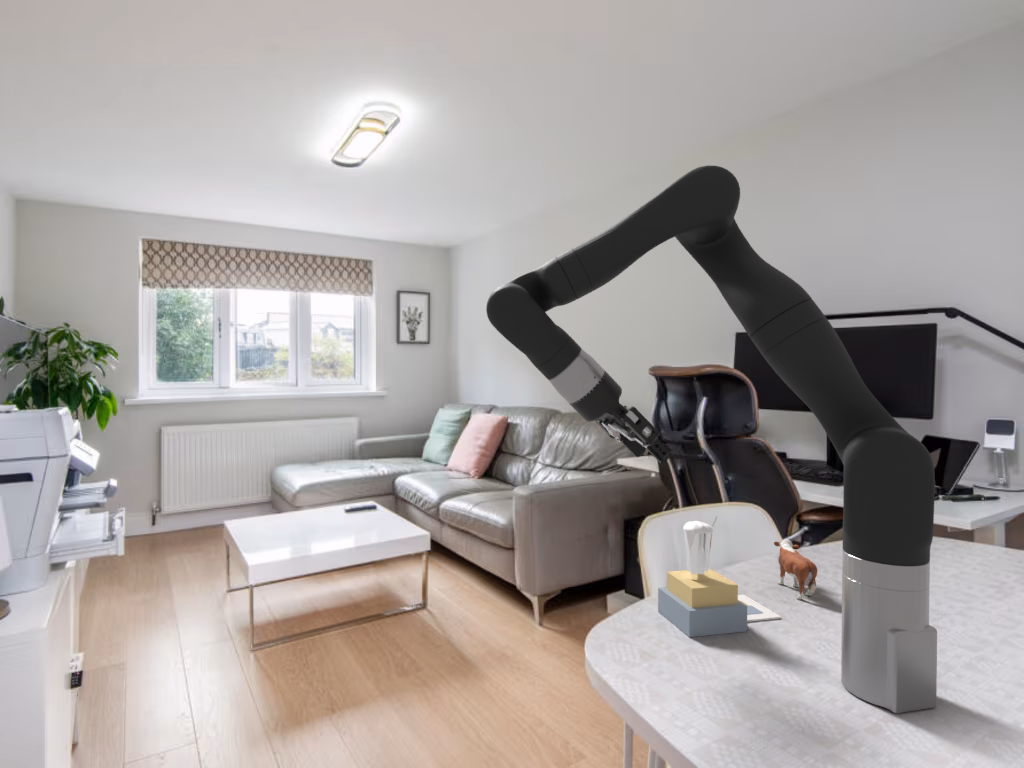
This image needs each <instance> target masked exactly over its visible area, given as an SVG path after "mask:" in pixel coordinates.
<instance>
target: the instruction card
mask: <svg viewBox="0 0 1024 768" xmlns="http://www.w3.org/2000/svg"><path fill="white" fill-rule="evenodd" d="M738 600H739V601H741V602H742V603H744V604H745V605H747V623H751V622H760V621H770V620H781V619H782V616H781V615H779V614H777V613H776V612H773V611H772V610H770V609H769V608H767V607H765V606H764V605H762V604H761V603H759V602H757V601H755V600H753V599H752V598H750V597H748V596H747V595H745V594H738Z"/></svg>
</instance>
